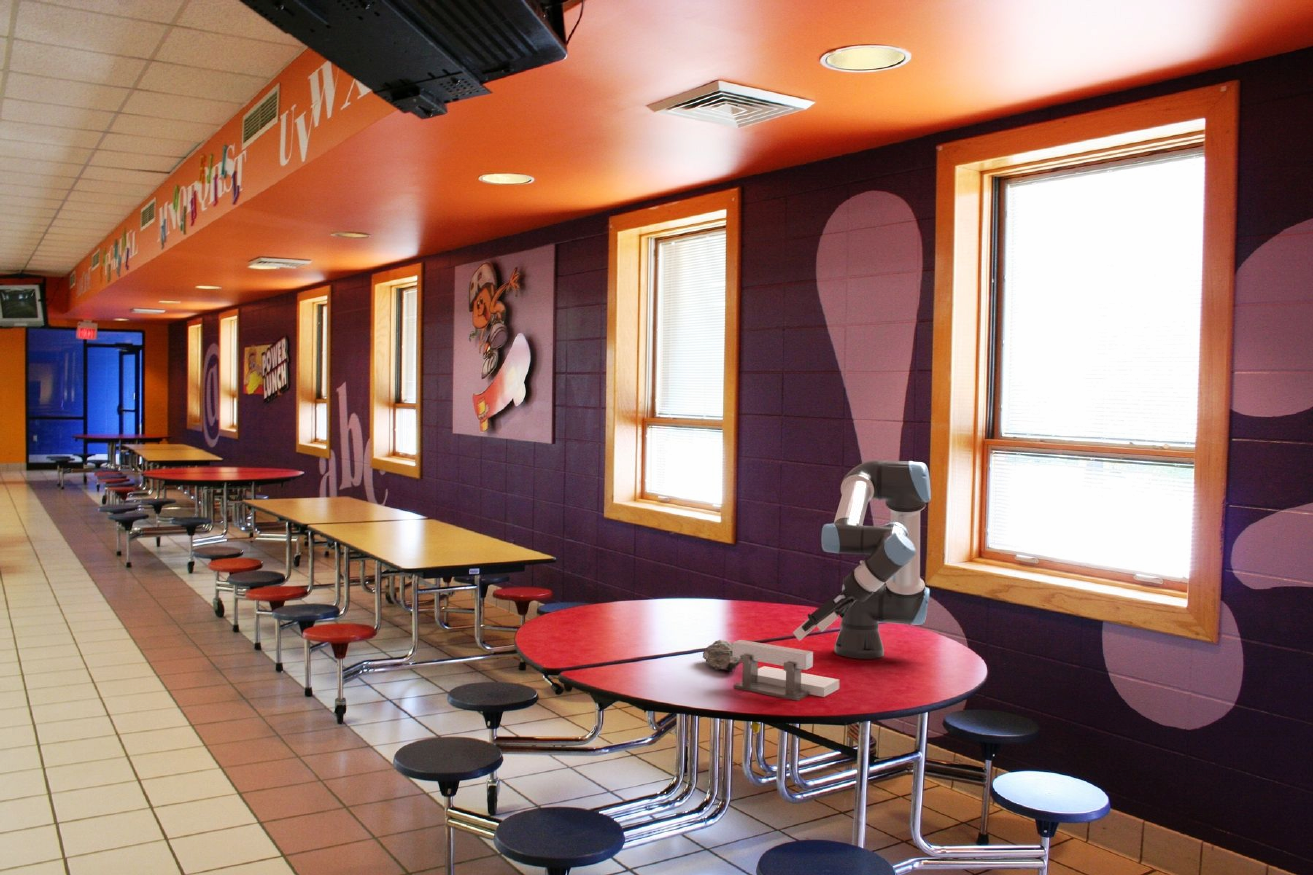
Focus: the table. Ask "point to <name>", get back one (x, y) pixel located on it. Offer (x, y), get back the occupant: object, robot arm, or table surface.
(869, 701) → the table surface
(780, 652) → the rail
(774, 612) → the table surface
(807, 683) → the board
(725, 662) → the rock
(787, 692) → the rack
